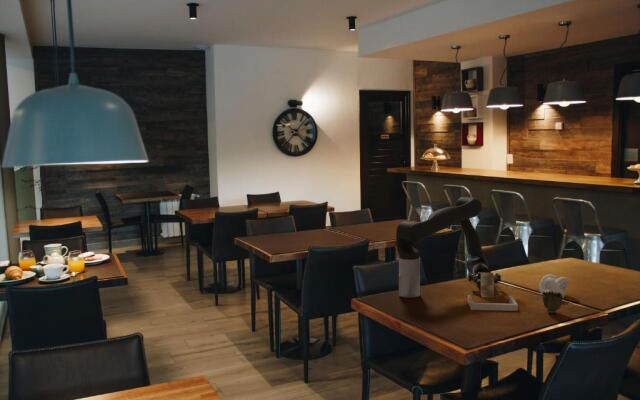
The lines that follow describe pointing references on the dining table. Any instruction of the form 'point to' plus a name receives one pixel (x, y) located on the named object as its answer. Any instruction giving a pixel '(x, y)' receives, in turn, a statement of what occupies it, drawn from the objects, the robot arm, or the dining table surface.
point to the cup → (552, 301)
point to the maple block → (487, 285)
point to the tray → (493, 305)
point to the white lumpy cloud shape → (553, 284)
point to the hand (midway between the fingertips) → (486, 281)
